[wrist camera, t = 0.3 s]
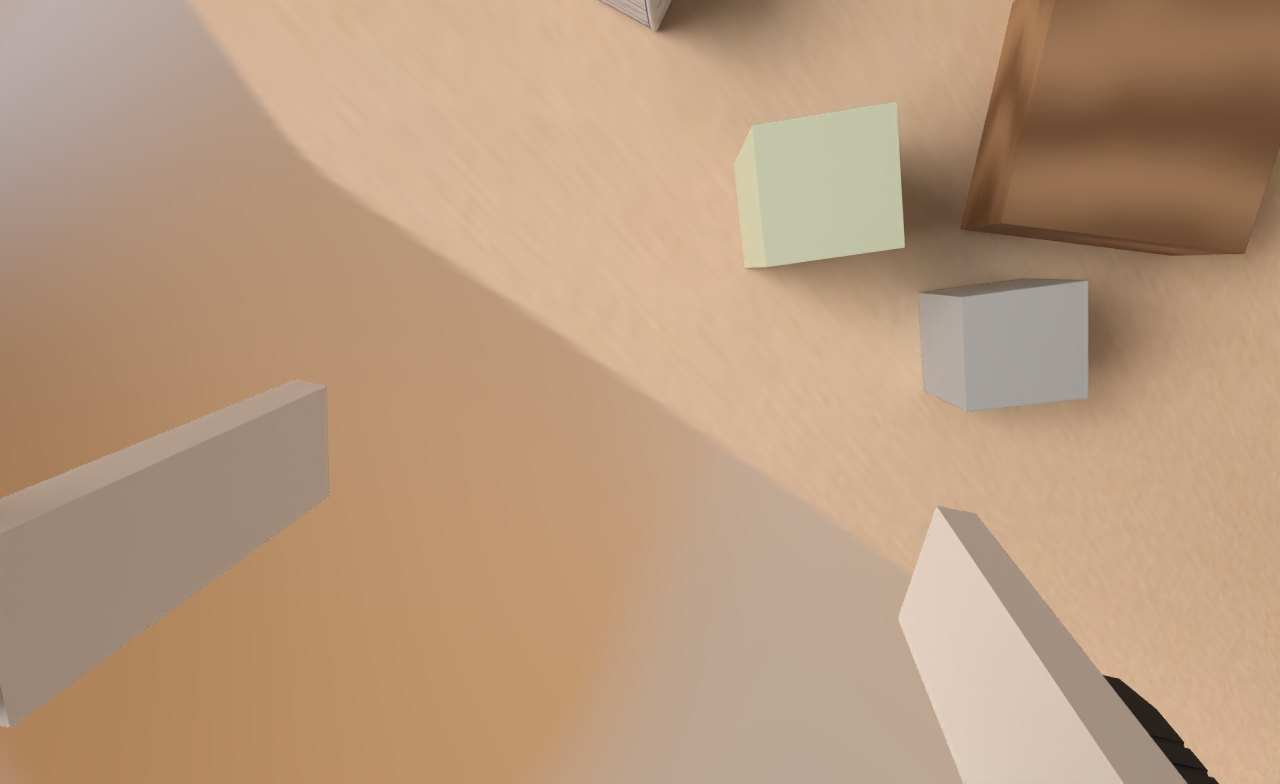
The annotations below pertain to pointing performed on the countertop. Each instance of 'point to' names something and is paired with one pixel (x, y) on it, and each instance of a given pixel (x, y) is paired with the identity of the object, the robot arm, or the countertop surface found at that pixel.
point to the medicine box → (642, 10)
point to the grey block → (1005, 343)
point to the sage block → (820, 187)
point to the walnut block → (1131, 124)
